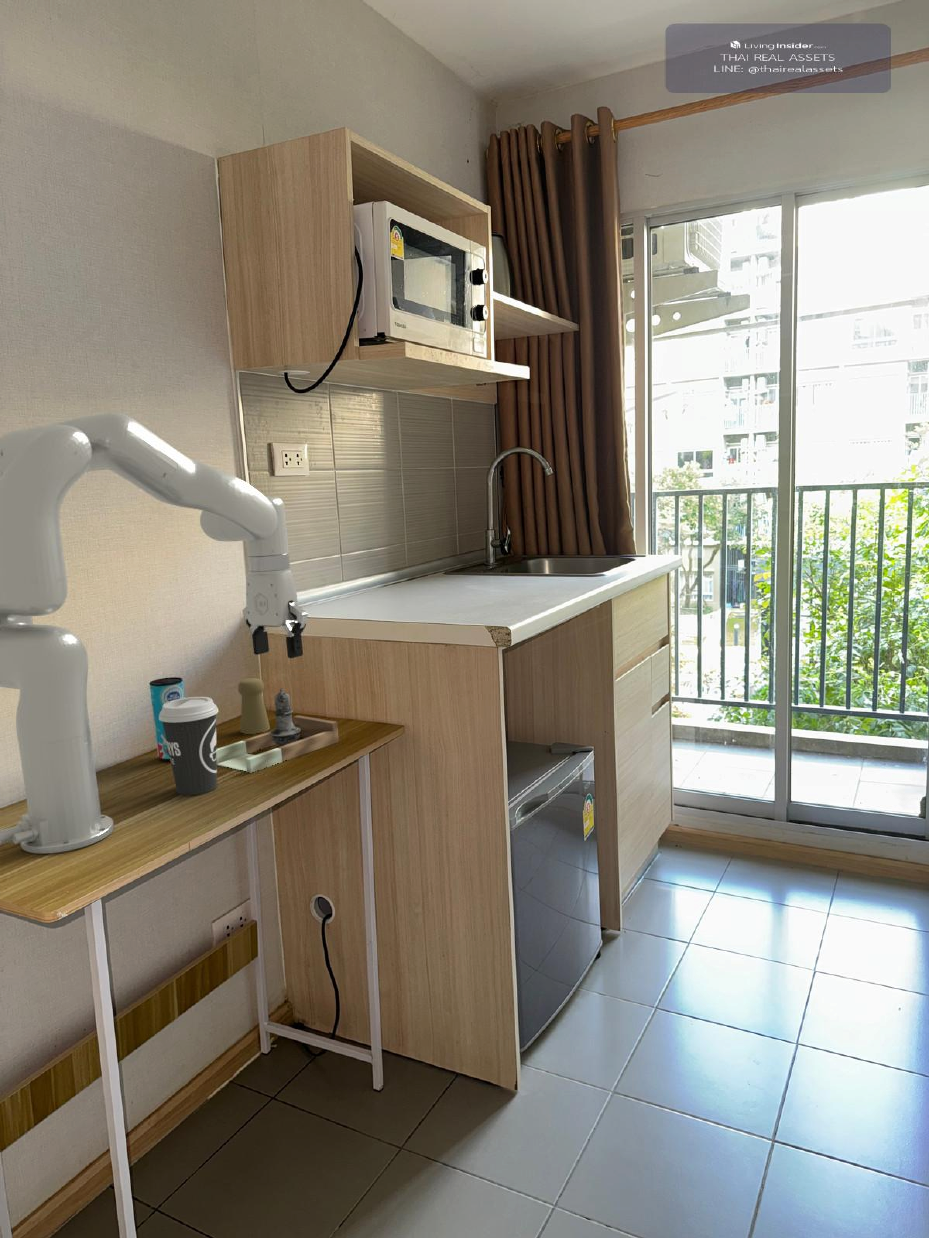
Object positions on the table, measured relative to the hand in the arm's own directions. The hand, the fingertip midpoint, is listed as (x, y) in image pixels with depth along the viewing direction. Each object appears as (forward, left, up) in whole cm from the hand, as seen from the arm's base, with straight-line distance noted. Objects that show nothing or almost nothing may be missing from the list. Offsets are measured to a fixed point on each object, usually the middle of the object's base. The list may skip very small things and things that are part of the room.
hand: (278, 654), depth 165 cm
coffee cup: (-23, -4, -19) cm, 30 cm away
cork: (+6, +17, -19) cm, 26 cm away
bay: (-3, 0, -18) cm, 19 cm away
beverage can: (-14, +16, -19) cm, 28 cm away
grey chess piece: (0, 0, -19) cm, 19 cm away
